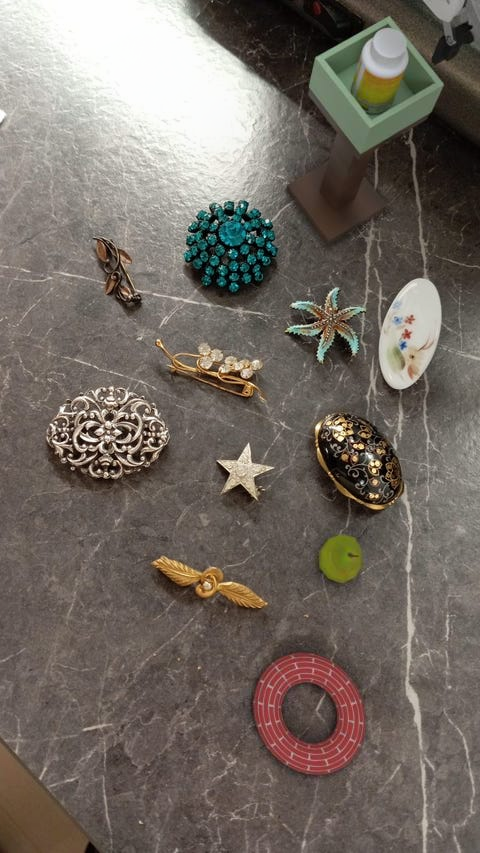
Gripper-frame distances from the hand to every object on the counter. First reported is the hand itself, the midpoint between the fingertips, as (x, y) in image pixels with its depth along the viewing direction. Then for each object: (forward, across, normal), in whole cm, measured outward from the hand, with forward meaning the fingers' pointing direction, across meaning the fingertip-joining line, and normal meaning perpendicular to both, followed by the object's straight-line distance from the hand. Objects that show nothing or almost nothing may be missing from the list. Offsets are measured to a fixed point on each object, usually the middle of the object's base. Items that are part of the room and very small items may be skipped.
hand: (416, 24), depth 99 cm
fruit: (+42, -43, +33) cm, 68 cm away
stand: (+41, +2, +1) cm, 41 cm away
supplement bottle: (+15, +2, +1) cm, 15 cm away
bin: (+15, +2, +1) cm, 15 cm away
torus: (+42, -57, +48) cm, 85 cm away
